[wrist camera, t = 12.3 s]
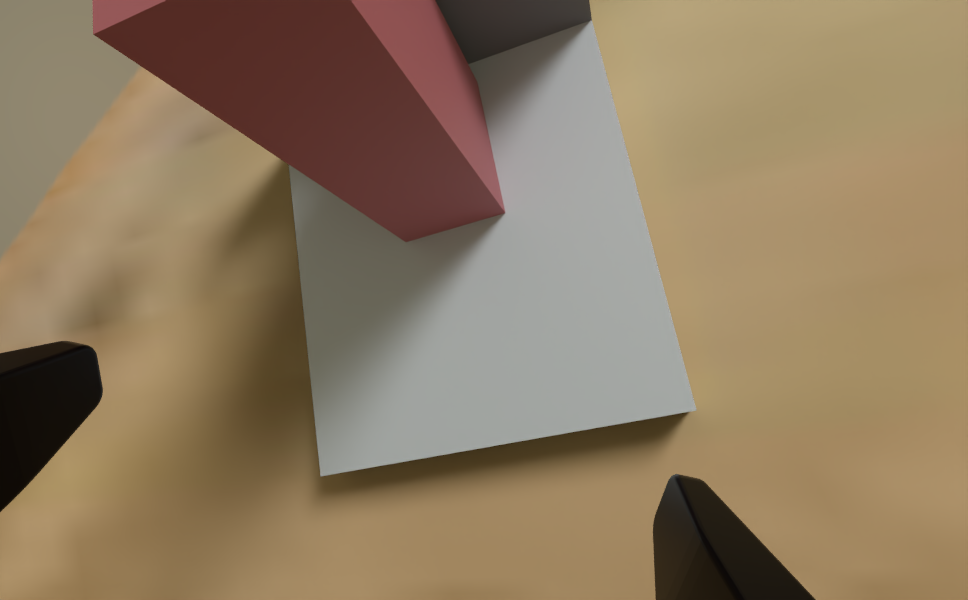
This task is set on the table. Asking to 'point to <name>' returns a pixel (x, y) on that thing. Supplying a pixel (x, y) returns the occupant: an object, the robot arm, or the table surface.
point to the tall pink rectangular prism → (332, 95)
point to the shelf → (495, 272)
